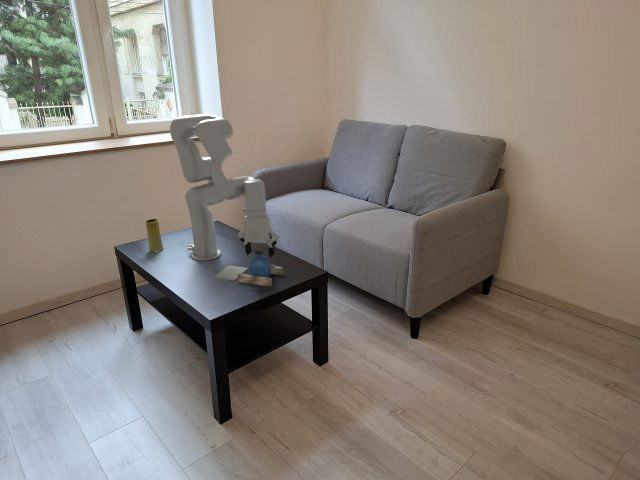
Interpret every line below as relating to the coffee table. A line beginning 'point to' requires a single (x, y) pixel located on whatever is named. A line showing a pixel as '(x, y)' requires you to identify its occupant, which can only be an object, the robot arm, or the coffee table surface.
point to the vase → (154, 235)
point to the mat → (231, 272)
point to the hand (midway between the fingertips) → (260, 255)
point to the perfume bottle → (260, 264)
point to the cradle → (258, 279)
